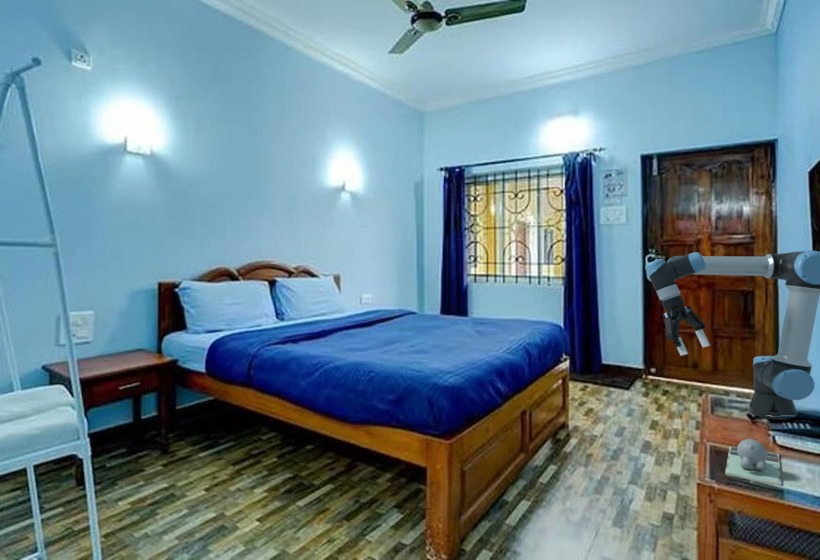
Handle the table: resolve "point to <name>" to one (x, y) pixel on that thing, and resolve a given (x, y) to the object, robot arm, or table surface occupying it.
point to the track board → (754, 478)
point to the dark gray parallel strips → (766, 458)
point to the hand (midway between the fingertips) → (695, 350)
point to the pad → (753, 470)
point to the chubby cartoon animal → (752, 454)
